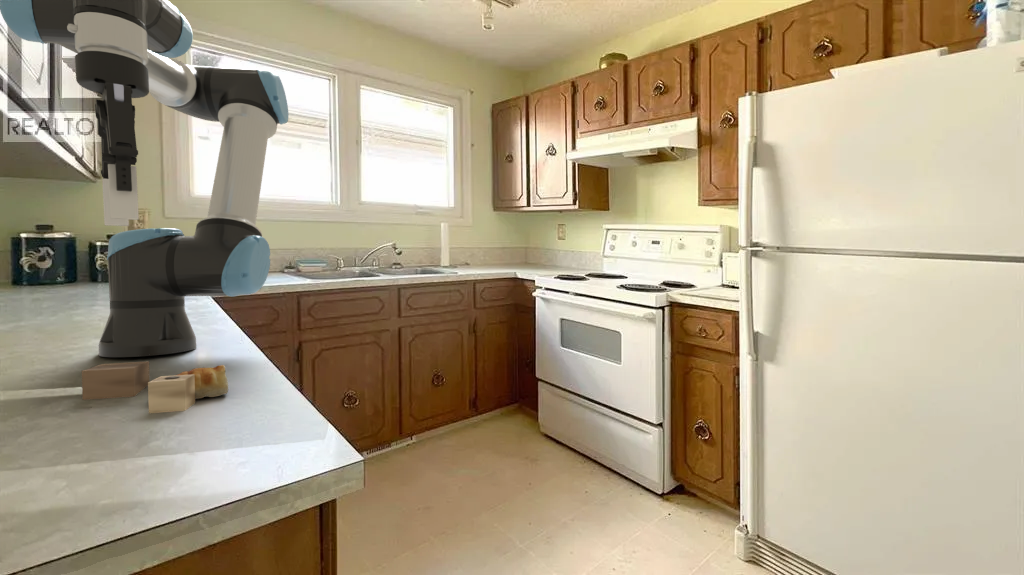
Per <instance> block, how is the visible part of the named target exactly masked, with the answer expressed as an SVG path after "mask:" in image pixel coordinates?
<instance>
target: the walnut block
mask: <svg viewBox="0 0 1024 575" xmlns="http://www.w3.org/2000/svg"><path fill="white" fill-rule="evenodd" d="M150 381H151V380H150V361H149V360H148V361H136V362H135V361H133V362H130V361H129V362H114V363H113V362H112V363H101V364H97V365H94V366H92V367H89V368H85V369H84V370H81V389H82V390H81V392H82V394H81V395H82V401H83V400H84V401H86V400H98V399H99V400H100V399H113V398H115V399H116V398H117V399H118V398H130V397H136V396H137V395H138V394H140V393H141V392H142V391H143V390H144V389H145V388H148V382H150Z"/></svg>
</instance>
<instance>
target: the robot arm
mask: <svg viewBox="0 0 1024 575" xmlns="http://www.w3.org/2000/svg"><path fill="white" fill-rule="evenodd" d="M0 15H1V16H2V19H3V20H4V23H6V24H5V25H6V26H7V27H8V28H9V29H10V30H11V31H12V32H13V34H15V35H16V36H17V37H19V38H20V39H22V40H24V41H26V42H33V43H40V44H42V45H44V44H56V45H59V46H61V47H63V48H65V49H67V50H69V51H72V52H74V53H75V56H74V64H75V65H74V66H75V80H76V82H77V84H78V85H79V86H81V87H82V88H84V89H85V90H88V91H91V92H93V93H94V92H96V93H98V94H100V95H101V96H102V99H95V104H94V113H95V118H96V119H97V133H98V134H97V135H98V136H99V137H100V148H101V149H100V150H101V170H100V174H101V177H102V179H101V180H102V199H103V220H104V221H103V223H104V224H103V225H104V226H114V227H117V226H118V227H130V222H129V220H133V221H135V220H137V221H138V220H140V219H139V218H140V217H139V194H138V177H137V175H138V174H137V166H136V163H138V162H137V161H138V159H137V158H138V155H139V150H138V149H137V148H138V147H137V139H136V131H135V127H136V126H135V125H136V121H135V118H136V106H135V105H133V100H132V99H140V98H144V97H146V96H148V95H149V94H150V96H151V97H152V98H153V99H155V101H157V102H159V103H160V104H163V105H164V106H166V107H168V108H170V109H173V110H174V111H178V112H180V113H182V114H185V115H187V116H190V117H193V118H197V119H199V120H203V121H208V122H214V123H215V122H218V123H220V125H222V127H223V131H222V136H221V141H220V146H219V147H220V148H219V153H218V158H217V164H216V167H215V168H216V169H215V174H214V180H213V185H212V191H211V195H210V196H211V197H210V202H209V207H208V211H207V212H208V213H207V217H204V218H201V219H200V220H199V221H197V223H196V226H195V227H196V228H195V232H194V235H185V234H184V232H183V231H182V230H181V229H179V228H172V227H162V228H161V227H159V228H140V229H131V230H124V231H120V232H118V233H115V234H113V235H112V236H111V237H110V238H109V241H108V246H107V247H108V248H107V249H108V250H107V255H106V260H107V266H108V267H107V268H108V269H107V270H108V272H107V274H108V289H109V292H108V294H109V295H108V296H109V316H108V318H107V320H106V324H105V326H104V329H103V332H102V334H101V335H100V336H101V337H100V339H99V343H98V356H99V357H102V358H134V357H135V358H136V357H151V356H159V355H161V356H162V355H170V354H178V353H183V352H188V351H192V350H195V349H197V337H196V334H195V332H194V330H193V327H192V324H191V322H190V320H189V317H188V315H187V313H186V308H185V307H186V304H185V299H186V298H185V297H220V296H221V297H222V296H223V297H226V296H227V297H232V298H233V297H238V296H247V295H252V294H256V293H257V292H258V291H259V290H261V289H262V287H264V285H265V283H266V281H267V278H268V276H269V273H270V268H271V267H270V266H271V258H270V256H271V249H270V248H271V247H270V244H269V243H268V241H267V239H266V238H265V237H263V233H262V231H261V230H260V229H259V228H258V227H257V226H256V224H257V217H258V211H259V204H260V196H261V189H262V188H261V187H262V181H263V176H264V168H265V160H266V153H267V146H268V141H269V140H268V139H271V138H273V136H275V134H276V132H277V128H278V124H279V125H284V124H287V123H288V121H289V106H288V105H289V104H288V100H287V96H286V91H285V88H284V85H283V82H282V80H281V78H280V75H279V74H278V73H277V72H276V71H274V70H271V69H266V68H259V67H256V68H243V67H242V68H241V67H226V66H225V67H224V66H205V65H204V66H203V65H191V64H186V63H184V62H182V61H181V60H178V59H175V58H178V57H182V56H183V55H185V54H186V53H187V52H189V49H191V47H192V44H193V41H194V40H193V39H194V34H193V33H194V32H193V30H192V27H191V25H190V23H189V21H188V20H187V19H186V17H185V16H184V15H183V14H182V12H180V10H179V8H178V7H177V6H176V5H174V4H173V3H171V1H169V0H0Z"/></svg>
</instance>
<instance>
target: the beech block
mask: <svg viewBox="0 0 1024 575" xmlns="http://www.w3.org/2000/svg"><path fill="white" fill-rule="evenodd" d="M147 390H148V391H147V392H148V393H147V394H148V395H147V398H148V400H147V401H148V414H158V413H169V412H170V413H171V412H184V411H187V410H188V409H189V408H191V407H192V406H193V405H195V404H196V399H195V374H191V375H177V374H175V375H162V376H159V377H157V378H154V379H152V380H150V382H148V386H147Z"/></svg>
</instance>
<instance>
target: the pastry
mask: <svg viewBox="0 0 1024 575" xmlns="http://www.w3.org/2000/svg"><path fill="white" fill-rule="evenodd" d="M191 374H195V400H197V399H198V400H199V399H203V398H204V397H209V398H214V397H219V396H221V395H222V396H223V395H226V394H227V393H228V392H229V381H228V377H227V375H226V374H227V373H226V366H225V365H224V364H221V365H217V366H215V367H214V366H213V367H197V368H192V369H191V370H185V371H181V372H180V373H177V374H176V375H191Z"/></svg>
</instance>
